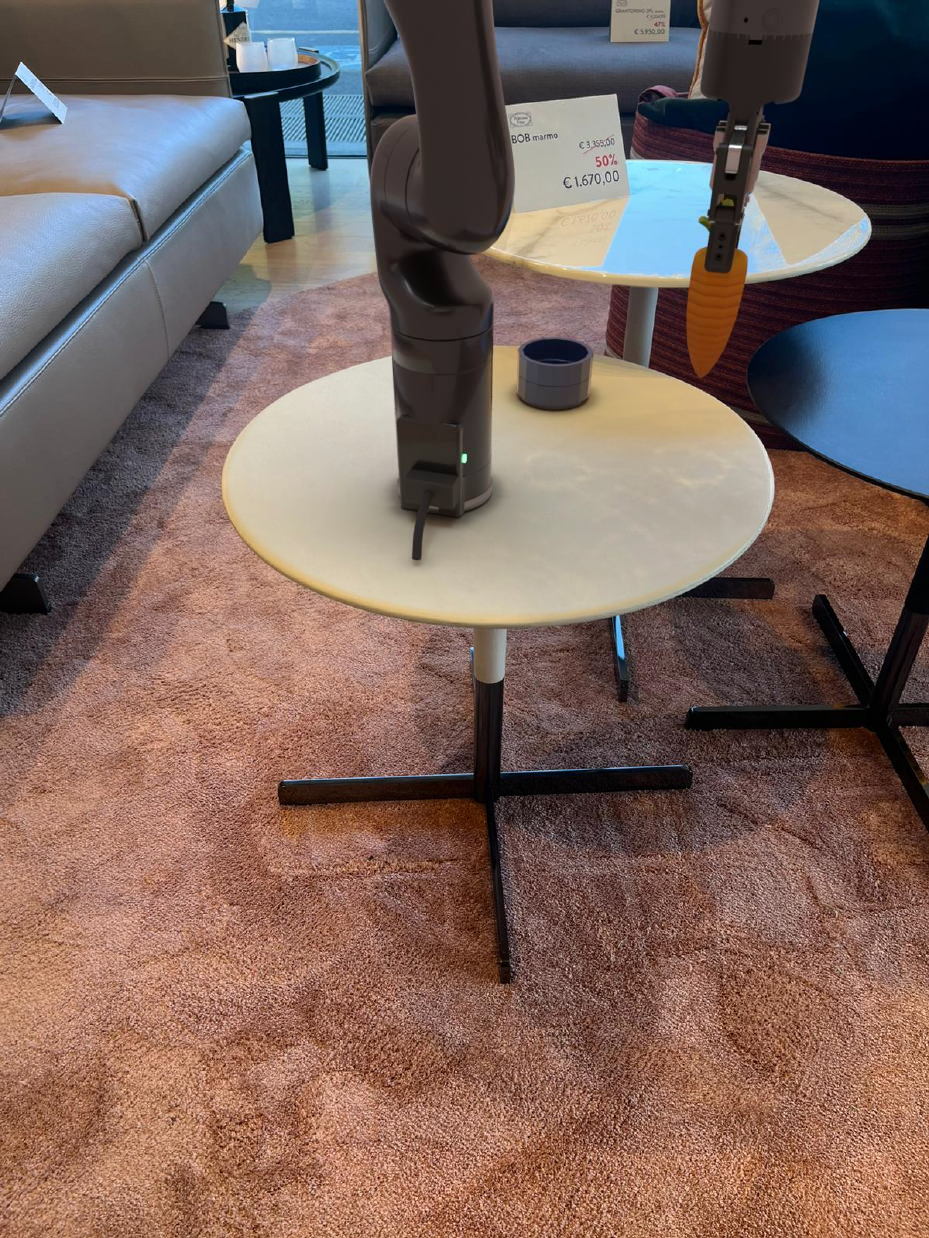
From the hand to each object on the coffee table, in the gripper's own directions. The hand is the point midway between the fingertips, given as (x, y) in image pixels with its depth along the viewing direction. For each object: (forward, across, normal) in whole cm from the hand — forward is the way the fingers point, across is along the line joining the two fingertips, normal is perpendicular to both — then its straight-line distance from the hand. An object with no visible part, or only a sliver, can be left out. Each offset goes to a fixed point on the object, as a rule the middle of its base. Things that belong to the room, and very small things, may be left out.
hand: (720, 261), depth 79 cm
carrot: (+11, 0, 0) cm, 11 cm away
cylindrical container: (+22, -18, -18) cm, 34 cm away
